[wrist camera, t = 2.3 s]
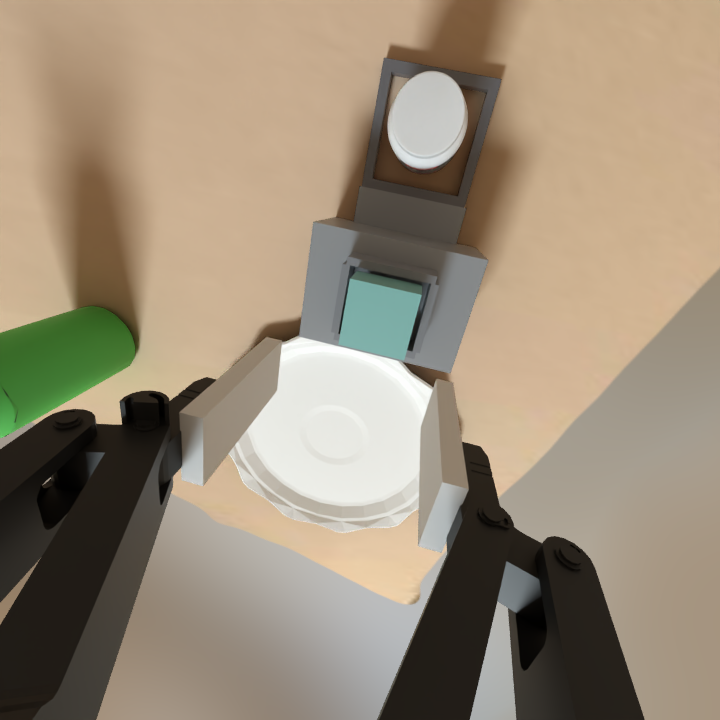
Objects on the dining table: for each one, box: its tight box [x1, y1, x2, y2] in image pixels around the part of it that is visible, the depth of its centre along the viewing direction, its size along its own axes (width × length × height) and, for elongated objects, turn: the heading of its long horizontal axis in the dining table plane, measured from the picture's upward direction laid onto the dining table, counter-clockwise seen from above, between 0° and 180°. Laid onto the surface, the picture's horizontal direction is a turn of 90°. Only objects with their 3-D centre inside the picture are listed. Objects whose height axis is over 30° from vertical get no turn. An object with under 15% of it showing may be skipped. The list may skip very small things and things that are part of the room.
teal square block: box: [338, 271, 422, 360], centre depth 27 cm, size 5×5×3 cm
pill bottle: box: [387, 71, 468, 174], centre depth 28 cm, size 6×6×10 cm
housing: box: [299, 58, 502, 373], centre depth 30 cm, size 23×14×10 cm, turn 169°
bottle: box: [0, 306, 135, 438], centre depth 35 cm, size 9×9×25 cm
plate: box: [228, 336, 433, 533], centre depth 46 cm, size 29×29×2 cm
